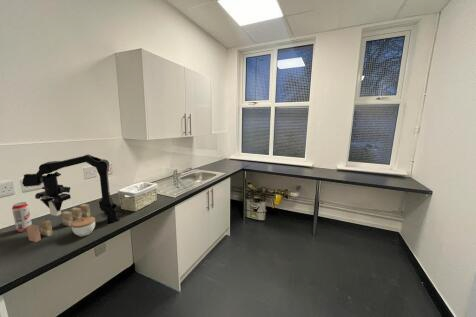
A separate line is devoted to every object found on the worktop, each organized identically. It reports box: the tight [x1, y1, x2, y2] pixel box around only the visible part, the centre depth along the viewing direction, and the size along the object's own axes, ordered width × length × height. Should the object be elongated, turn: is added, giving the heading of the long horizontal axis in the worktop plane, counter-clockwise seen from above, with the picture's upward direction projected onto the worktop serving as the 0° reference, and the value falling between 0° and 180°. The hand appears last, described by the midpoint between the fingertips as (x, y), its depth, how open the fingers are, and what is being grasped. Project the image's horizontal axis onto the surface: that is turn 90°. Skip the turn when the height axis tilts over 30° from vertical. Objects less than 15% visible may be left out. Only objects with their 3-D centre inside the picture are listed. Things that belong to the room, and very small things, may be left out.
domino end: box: [26, 224, 42, 243], centre depth 103 cm, size 2×5×8 cm, turn 76°
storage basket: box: [117, 181, 158, 212], centre depth 148 cm, size 24×16×15 cm
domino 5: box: [79, 203, 92, 218], centre depth 129 cm, size 2×5×8 cm, turn 76°
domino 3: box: [61, 210, 73, 227], centre depth 119 cm, size 2×5×8 cm, turn 76°
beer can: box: [11, 201, 33, 233], centre depth 112 cm, size 6×6×16 cm
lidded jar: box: [70, 216, 96, 237], centre depth 110 cm, size 11×11×9 cm
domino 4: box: [70, 207, 83, 221], centre depth 124 cm, size 2×5×8 cm, turn 76°
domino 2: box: [48, 199, 62, 217], centre depth 112 cm, size 2×5×8 cm, turn 76°
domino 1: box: [39, 219, 54, 237], centre depth 108 cm, size 2×5×8 cm, turn 76°
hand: (55, 210), depth 112 cm, fingers closed on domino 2, 5 cm apart
